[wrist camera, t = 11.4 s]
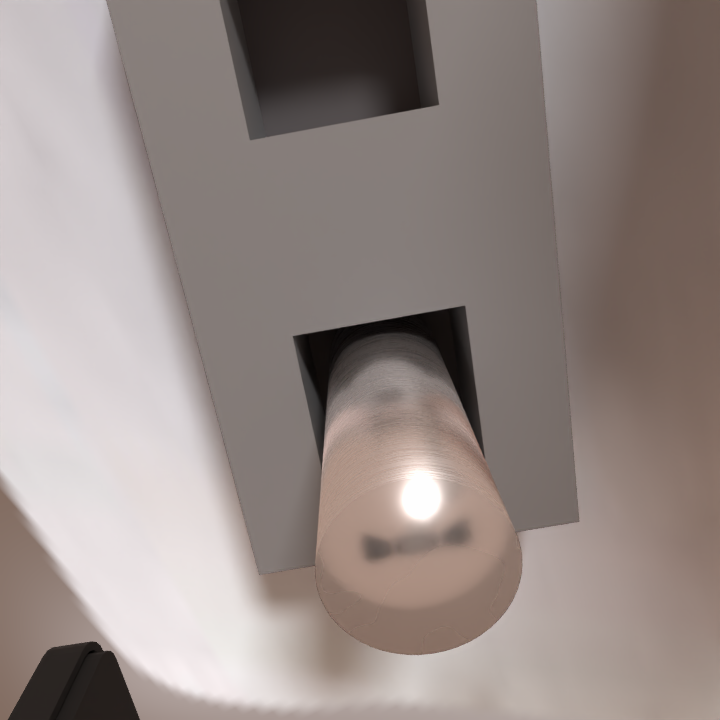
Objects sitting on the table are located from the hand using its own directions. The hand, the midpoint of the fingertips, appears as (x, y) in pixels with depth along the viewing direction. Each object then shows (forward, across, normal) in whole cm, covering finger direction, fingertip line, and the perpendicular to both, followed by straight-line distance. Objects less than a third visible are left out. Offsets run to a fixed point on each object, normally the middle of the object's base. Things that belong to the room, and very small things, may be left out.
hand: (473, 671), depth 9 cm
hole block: (+16, +1, -4) cm, 17 cm away
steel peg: (+15, +1, +1) cm, 15 cm away
